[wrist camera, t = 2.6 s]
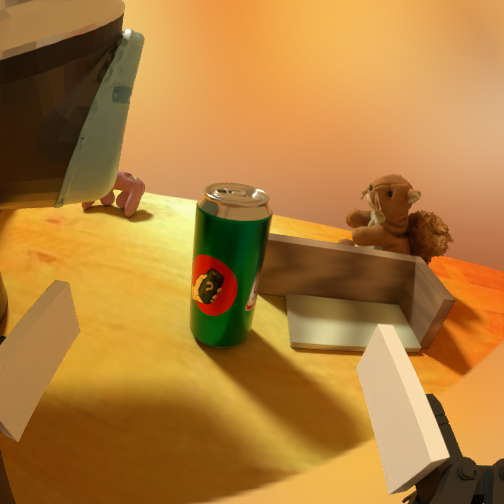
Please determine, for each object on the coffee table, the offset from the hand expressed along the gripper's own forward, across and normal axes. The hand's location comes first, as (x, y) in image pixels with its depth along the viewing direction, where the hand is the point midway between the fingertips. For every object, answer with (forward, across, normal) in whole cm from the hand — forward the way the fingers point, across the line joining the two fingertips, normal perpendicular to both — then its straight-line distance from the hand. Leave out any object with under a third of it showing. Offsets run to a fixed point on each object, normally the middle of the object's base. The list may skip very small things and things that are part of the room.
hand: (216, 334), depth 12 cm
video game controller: (+34, -20, -9) cm, 40 cm away
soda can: (+10, 0, -9) cm, 14 cm away
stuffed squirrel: (+25, +20, -9) cm, 33 cm away
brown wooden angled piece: (+14, +11, -9) cm, 20 cm away
